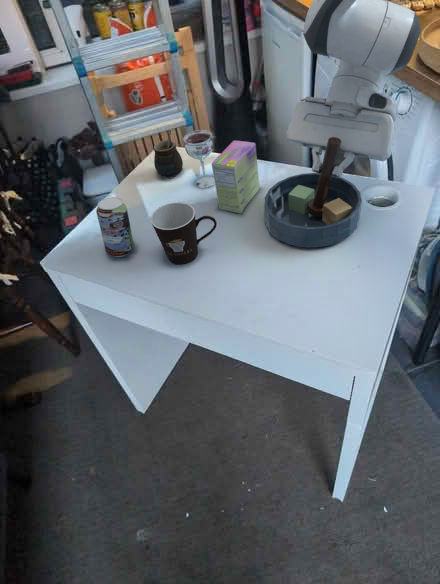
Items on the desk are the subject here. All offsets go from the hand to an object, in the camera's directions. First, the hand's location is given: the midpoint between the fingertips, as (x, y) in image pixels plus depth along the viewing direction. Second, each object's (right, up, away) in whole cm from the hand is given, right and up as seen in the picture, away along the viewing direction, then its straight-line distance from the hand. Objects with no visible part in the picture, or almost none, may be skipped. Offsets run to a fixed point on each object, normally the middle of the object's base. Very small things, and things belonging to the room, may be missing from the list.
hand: (326, 174), depth 84 cm
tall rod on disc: (0, -6, +7) cm, 9 cm away
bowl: (-1, -8, +8) cm, 11 cm away
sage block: (-3, -4, +11) cm, 12 cm away
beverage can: (-41, -14, +10) cm, 45 cm away
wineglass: (-24, +4, +24) cm, 35 cm away
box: (-16, -1, +17) cm, 24 cm away
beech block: (+3, -8, +6) cm, 11 cm away
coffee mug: (-27, -15, +6) cm, 31 cm away
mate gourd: (-33, +8, +30) cm, 45 cm away
